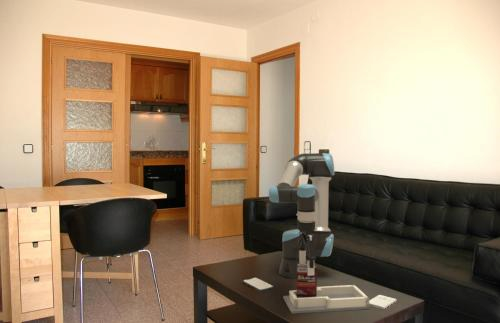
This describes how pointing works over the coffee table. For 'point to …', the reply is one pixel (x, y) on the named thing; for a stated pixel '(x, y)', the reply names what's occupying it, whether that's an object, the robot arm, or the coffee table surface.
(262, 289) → the phone case
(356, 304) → the white tray
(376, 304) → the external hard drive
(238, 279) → the coffee table surface
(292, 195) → the robot arm
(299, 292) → the supplement box
